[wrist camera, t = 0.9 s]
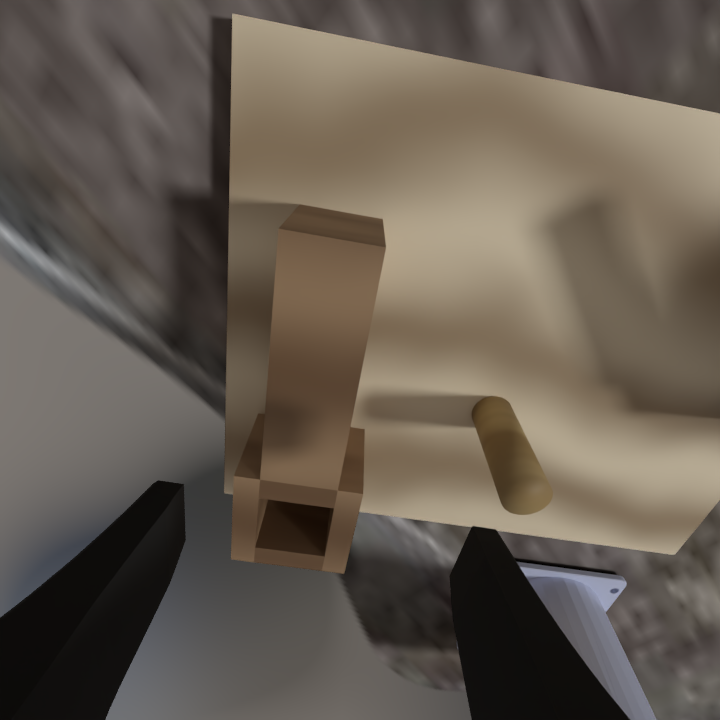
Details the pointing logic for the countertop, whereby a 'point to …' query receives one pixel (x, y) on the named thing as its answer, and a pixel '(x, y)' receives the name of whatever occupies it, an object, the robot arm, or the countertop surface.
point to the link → (311, 396)
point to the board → (493, 283)
